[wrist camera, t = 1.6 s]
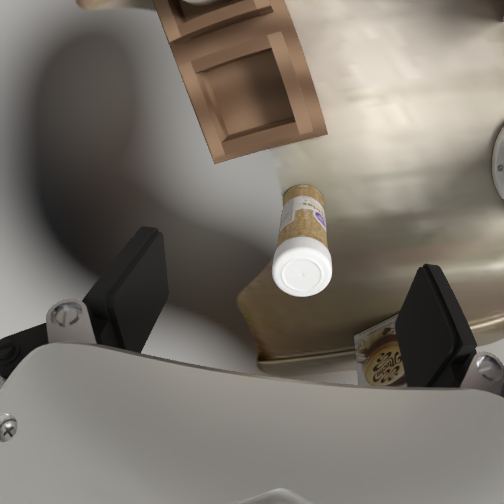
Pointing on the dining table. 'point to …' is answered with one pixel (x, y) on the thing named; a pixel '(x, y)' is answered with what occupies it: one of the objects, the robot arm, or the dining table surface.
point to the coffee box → (379, 356)
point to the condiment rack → (242, 73)
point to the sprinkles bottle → (302, 244)
